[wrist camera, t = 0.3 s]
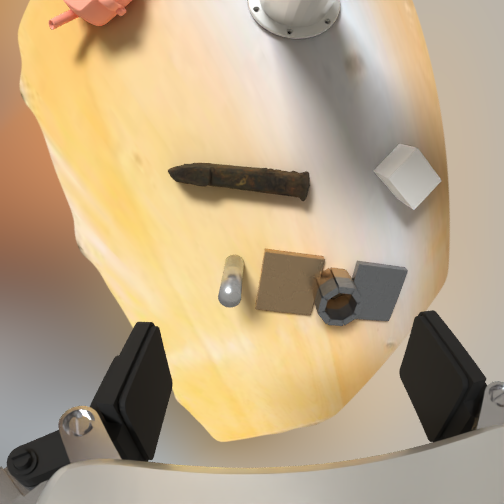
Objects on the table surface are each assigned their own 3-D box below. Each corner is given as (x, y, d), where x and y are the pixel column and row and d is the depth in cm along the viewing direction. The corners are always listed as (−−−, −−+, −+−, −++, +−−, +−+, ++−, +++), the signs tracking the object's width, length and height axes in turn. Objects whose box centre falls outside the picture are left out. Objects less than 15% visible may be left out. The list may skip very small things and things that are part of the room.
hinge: (265, 248, 48) (266, 266, 42) (404, 267, 48) (419, 284, 43) (255, 305, 52) (255, 327, 46) (386, 317, 52) (397, 337, 47)
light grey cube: (399, 143, 41) (417, 147, 35) (422, 172, 42) (441, 180, 37) (372, 171, 43) (388, 179, 37) (396, 198, 44) (414, 210, 39)
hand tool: (308, 170, 43) (314, 175, 39) (302, 197, 45) (307, 205, 40) (174, 149, 42) (165, 152, 38) (171, 176, 44) (162, 182, 39)
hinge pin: (226, 253, 48) (219, 286, 39) (244, 256, 48) (241, 289, 39) (224, 270, 49) (217, 305, 40) (242, 272, 49) (239, 308, 40)
